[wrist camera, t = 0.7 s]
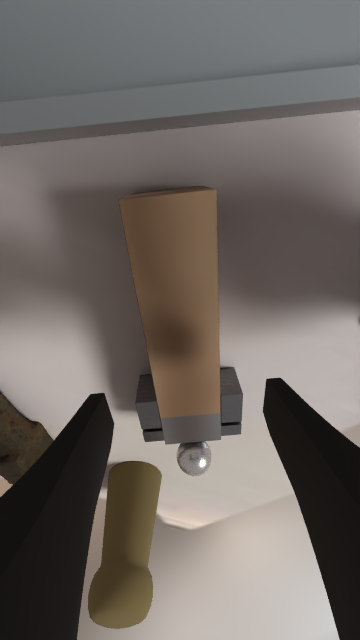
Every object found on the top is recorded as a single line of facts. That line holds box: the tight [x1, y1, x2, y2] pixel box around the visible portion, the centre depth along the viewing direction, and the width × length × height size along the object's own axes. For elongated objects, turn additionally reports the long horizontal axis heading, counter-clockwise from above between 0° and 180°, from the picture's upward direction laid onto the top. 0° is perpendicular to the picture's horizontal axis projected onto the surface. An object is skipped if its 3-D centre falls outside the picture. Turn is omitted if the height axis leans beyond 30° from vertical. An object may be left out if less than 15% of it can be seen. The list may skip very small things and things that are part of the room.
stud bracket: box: [135, 368, 243, 476], centre depth 20 cm, size 8×5×6 cm, turn 95°
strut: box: [118, 186, 221, 444], centre depth 16 cm, size 4×16×5 cm, turn 5°
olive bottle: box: [88, 461, 162, 629], centre depth 24 cm, size 6×6×11 cm
